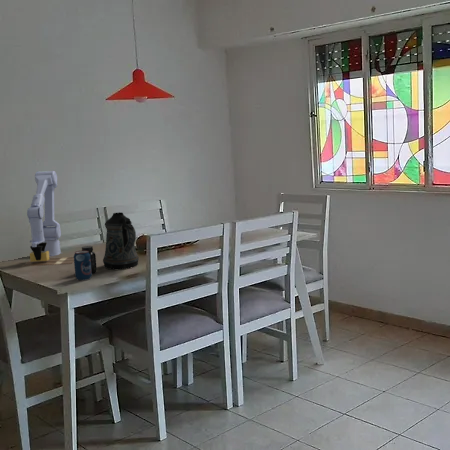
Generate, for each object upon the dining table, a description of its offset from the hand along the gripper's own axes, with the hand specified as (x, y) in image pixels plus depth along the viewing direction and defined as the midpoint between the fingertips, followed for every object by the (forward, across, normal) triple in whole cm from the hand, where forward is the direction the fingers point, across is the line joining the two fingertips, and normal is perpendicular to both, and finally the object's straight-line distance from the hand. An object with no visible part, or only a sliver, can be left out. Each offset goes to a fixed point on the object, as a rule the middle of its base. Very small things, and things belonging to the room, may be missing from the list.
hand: (39, 258), depth 298 cm
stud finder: (+1, 0, 0) cm, 1 cm away
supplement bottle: (+3, +24, +29) cm, 38 cm away
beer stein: (+3, +13, +43) cm, 45 cm away
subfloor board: (+3, 0, +5) cm, 6 cm away
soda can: (+3, +35, +29) cm, 46 cm away
